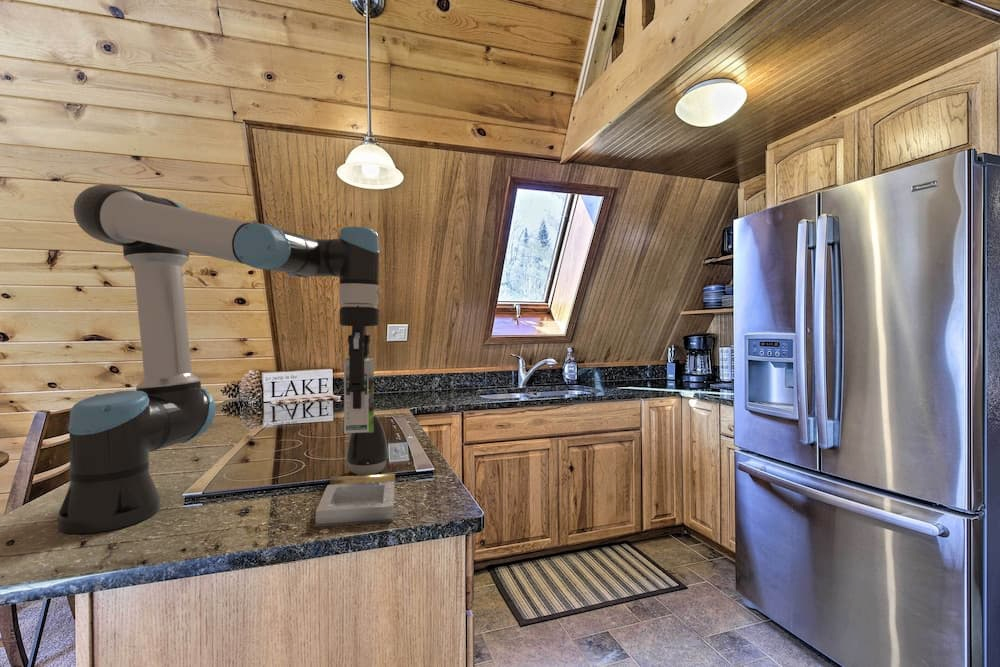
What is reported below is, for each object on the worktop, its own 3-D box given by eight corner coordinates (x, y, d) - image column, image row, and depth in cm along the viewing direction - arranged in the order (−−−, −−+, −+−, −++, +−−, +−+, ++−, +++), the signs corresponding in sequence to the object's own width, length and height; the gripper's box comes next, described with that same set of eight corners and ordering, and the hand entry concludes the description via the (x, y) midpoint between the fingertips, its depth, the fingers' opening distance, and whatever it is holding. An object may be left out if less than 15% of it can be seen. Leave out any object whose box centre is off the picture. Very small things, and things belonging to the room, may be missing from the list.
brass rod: (330, 492, 105) (330, 479, 105) (332, 487, 108) (332, 474, 108) (394, 489, 108) (394, 476, 108) (394, 484, 111) (395, 471, 111)
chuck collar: (315, 527, 88) (315, 511, 88) (327, 498, 102) (327, 484, 102) (392, 521, 91) (393, 506, 91) (394, 494, 105) (394, 481, 105)
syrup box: (343, 434, 92) (343, 360, 92) (344, 427, 98) (345, 357, 97) (373, 432, 94) (374, 359, 93) (373, 425, 100) (373, 357, 99)
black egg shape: (336, 477, 115) (336, 415, 115) (361, 464, 125) (361, 407, 125) (373, 482, 113) (373, 418, 112) (395, 469, 122) (396, 410, 122)
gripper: (376, 305, 87) (375, 431, 87) (380, 307, 105) (380, 411, 106) (332, 304, 85) (332, 432, 86) (345, 306, 104) (345, 412, 104)
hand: (358, 420), depth 96 cm, fingers closed on syrup box, 6 cm apart
